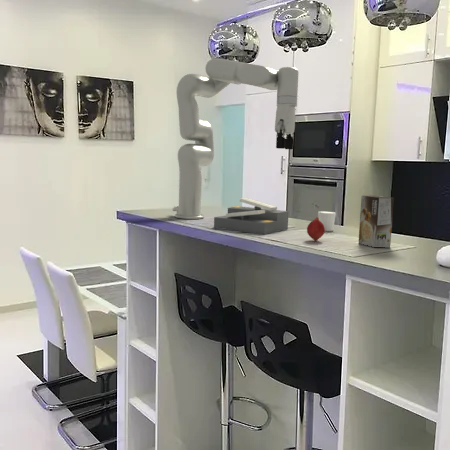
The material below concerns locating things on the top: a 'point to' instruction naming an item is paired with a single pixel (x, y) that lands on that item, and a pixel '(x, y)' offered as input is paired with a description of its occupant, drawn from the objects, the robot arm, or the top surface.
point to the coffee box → (376, 221)
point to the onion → (315, 229)
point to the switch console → (253, 220)
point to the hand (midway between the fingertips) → (284, 148)
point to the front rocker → (245, 213)
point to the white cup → (327, 219)
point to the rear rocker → (258, 204)
